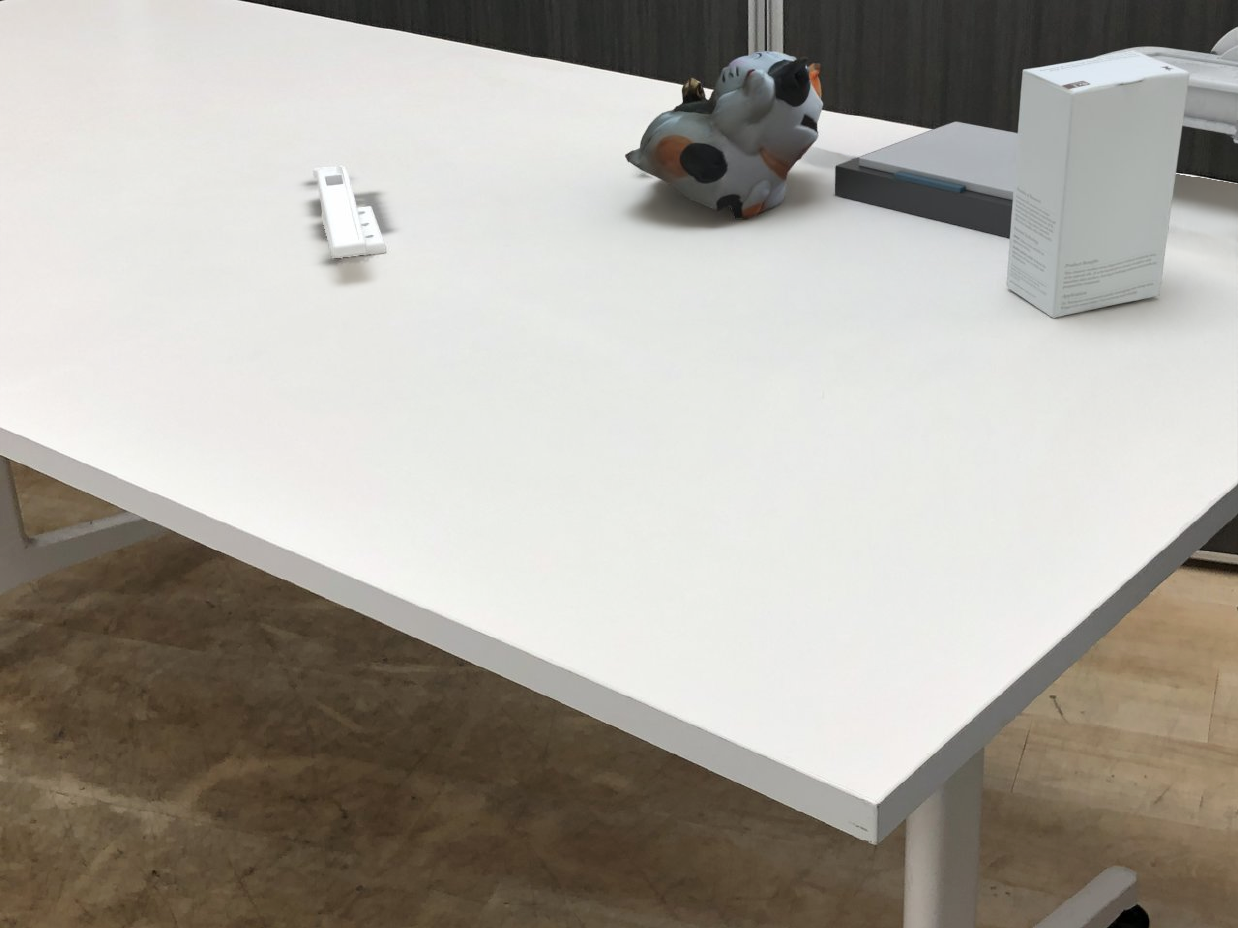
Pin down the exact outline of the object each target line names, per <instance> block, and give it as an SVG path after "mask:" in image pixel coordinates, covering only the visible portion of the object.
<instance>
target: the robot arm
mask: <svg viewBox="0 0 1238 928" xmlns="http://www.w3.org/2000/svg"><path fill="white" fill-rule="evenodd" d="M1128 51H1136V52H1139V53H1142V54H1144V55H1146V56H1148V57H1151V58H1153V59H1156V60H1159V61H1162V62H1165V63H1167V64H1170V65H1173V66H1175V67H1178V68H1180V69H1183V70H1186V71H1187V72H1189V73H1190V77H1189V82H1188V88H1187V95H1186V102H1185V110H1184V117H1183V124H1182V127H1187V128H1192V129H1198V130H1202V131H1203V130H1205V131H1210V132H1215V133H1220V134H1226V135H1227V136H1229V137H1230V138H1232V139H1233V143H1234V144H1238V26H1237V27H1234V28H1233V29H1231V30H1230V31H1228V32H1227V33H1226V34H1224V35H1223V36H1222V37H1221V38H1220V39H1219V40H1218V41H1217V42H1216V43H1215V45H1214V46H1213V47H1212V49H1211V51H1210V52H1209V53H1205V52H1199V51H1191V50H1186V49H1178V48H1170V47H1164V46H1162V47H1161V46H1137V47H1136V46H1135V47H1130V48H1129V47H1128V48H1124V49H1120V50H1116V51H1111V52H1108V53H1105V54H1101V55H1100V54H1099V55H1097V56H1094V57H1093V58H1096V57H1101V56H1106V55H1111V54H1117V53H1122V52H1128Z"/></svg>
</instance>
